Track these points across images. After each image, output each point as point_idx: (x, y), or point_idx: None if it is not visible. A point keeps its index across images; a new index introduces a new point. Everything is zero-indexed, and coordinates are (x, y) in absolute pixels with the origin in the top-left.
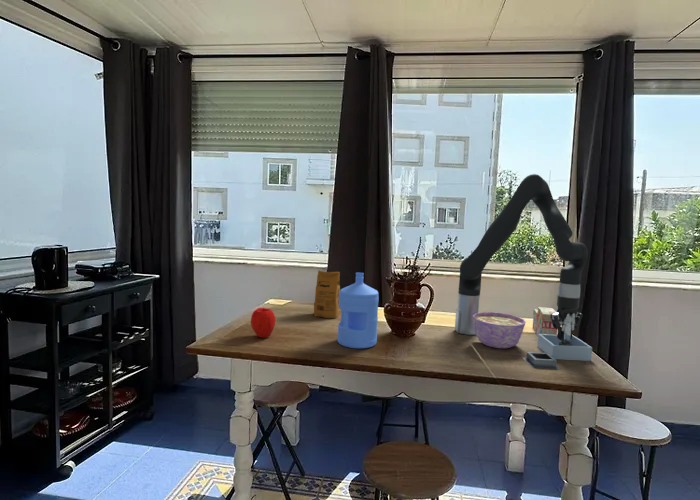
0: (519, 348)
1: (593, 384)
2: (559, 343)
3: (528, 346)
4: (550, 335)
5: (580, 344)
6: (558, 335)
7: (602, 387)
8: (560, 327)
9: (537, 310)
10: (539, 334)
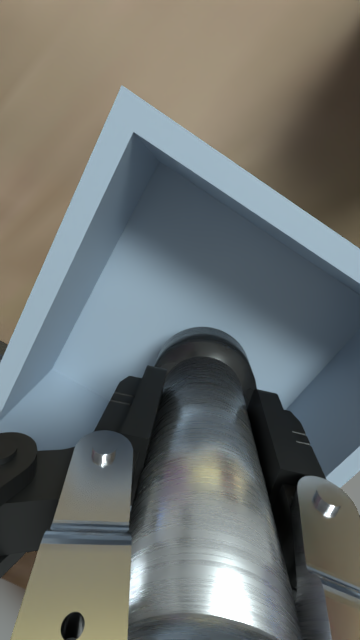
0: (6, 64)
1: (13, 566)
2: (155, 364)
3: (130, 52)
4: (238, 203)
5: (320, 448)
6: (118, 402)
7: (23, 587)
8: (20, 554)
9: None
10: (115, 114)
